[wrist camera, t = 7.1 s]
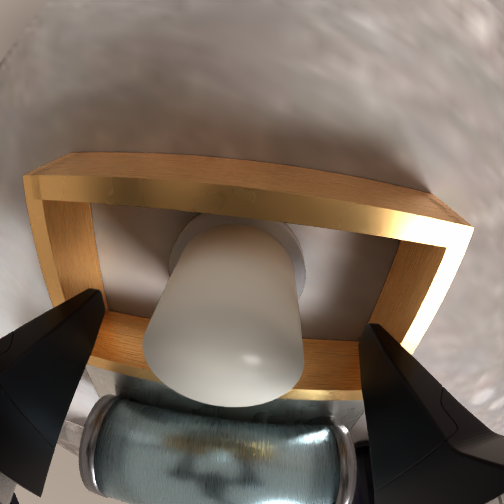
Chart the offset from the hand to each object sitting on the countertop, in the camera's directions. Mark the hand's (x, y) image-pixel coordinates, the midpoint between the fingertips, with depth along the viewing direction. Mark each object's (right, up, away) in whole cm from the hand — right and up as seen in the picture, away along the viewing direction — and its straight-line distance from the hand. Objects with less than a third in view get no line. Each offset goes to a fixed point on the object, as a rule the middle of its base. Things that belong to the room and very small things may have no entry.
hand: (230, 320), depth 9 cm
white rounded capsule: (0, +2, +3) cm, 3 cm away
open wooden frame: (-1, -3, +5) cm, 6 cm away
